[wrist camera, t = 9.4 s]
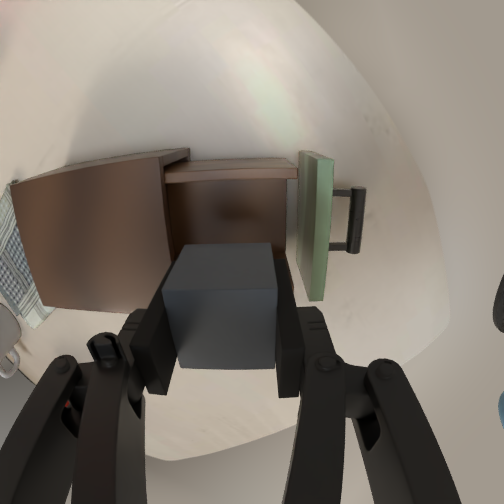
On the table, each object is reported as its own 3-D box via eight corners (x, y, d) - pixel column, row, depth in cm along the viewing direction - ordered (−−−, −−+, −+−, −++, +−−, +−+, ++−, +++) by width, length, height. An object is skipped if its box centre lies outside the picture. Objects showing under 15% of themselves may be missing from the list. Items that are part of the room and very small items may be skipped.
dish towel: (16, 174, 26) (0, 180, 23) (87, 278, 32) (76, 290, 29) (-21, 246, 30) (-32, 254, 27) (37, 326, 36) (28, 337, 33)
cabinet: (189, 147, 26) (158, 156, 17) (199, 263, 31) (181, 316, 22) (64, 166, 26) (9, 185, 17) (83, 264, 31) (43, 306, 22)
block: (270, 242, 14) (278, 288, 10) (270, 313, 16) (275, 369, 12) (184, 244, 14) (160, 289, 10) (194, 313, 16) (180, 368, 12)
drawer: (352, 153, 25) (387, 163, 18) (344, 259, 30) (369, 298, 23) (160, 156, 25) (127, 167, 18) (172, 262, 30) (151, 303, 23)
